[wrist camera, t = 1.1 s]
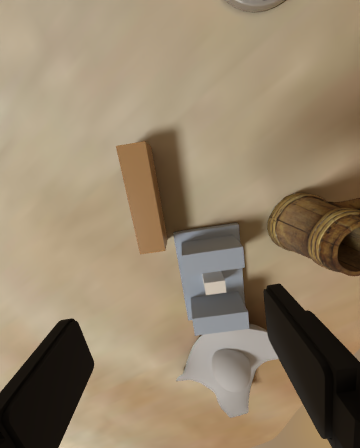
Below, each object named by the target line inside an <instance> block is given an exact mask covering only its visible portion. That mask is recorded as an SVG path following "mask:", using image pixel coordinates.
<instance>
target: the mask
mask: <svg viewBox="0 0 360 448" xmlns="http://www.w3.org/2000/svg"><path fill="white" fill-rule="evenodd" d="M274 359H279V358H278V356H277V354H276V353H275V351H274V349H273V347H272V345H271V343H270V341H269V338H268V334H267V330H265V329H263V328H262V327H260V326H257V325H254V324H249V329H244V330H236V331H228V332H220V333H212V334H204V335H202V336H200V337H199V338H198V340H197V341H196V342H195V344H194V345H193V347H192V349H191V352H190V354H189V357H188V360H187V363H186V366H185V369H184V372H183V374H182V375H180V376H179V377H178V378H177V380H176V381H183V380H193V381H196V382H199V383H201V384H203V385H204V386H206V387H208V388H209V389H211V390H212V391H213V392H214V393H215V395H216V397H217V400H218V403H219V405H220V407H221V408H222V410H224V412H225V413H226V414H227V415H228V416H229V417H230V418H231V417H235V416H240V415H243V414H246V413H248V402H249V401H248V400H249V393H250V388H251V383H252V380H253V378H254V375H255V372H256V369H257V368H258V367H259V366H260V365H261V364H262V363H264V362H266V361H269V360H274Z"/></svg>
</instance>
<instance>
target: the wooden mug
mask: <svg viewBox="0 0 360 448" xmlns="http://www.w3.org/2000/svg"><path fill="white" fill-rule="evenodd" d="M267 230H268V233H269V236H270V237H271V239H272V241H273V242H274V243H275V244H276V245H278V246H280V247H282V248H284V249H286V250H288V251H293V252H296V253H298V254H301V255H303V256H306V257H308V258H310V259H312V260H313V261H314V262H315V263H317V264H318V265H320V266H322V267H324V268H326V269H329V270H332V271H336V272H341V273H344V274H346V275H349V276H359V275H360V198H357V199H353V200H349V201H343V202H327V201H326V200H325V199H323V198H321V197H320V196H316V195H312V194H306V193H295V194H293V195H290V196H288V197H286V198H284V199H283V200H282V201H281V202H280V203H278V205H277V206H276V207H275V208H274V210H273V211H272V213H271V215H270V217H269V220H268V226H267Z"/></svg>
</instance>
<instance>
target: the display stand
mask: <svg viewBox="0 0 360 448" xmlns="http://www.w3.org/2000/svg"><path fill="white" fill-rule="evenodd" d="M173 235H174V240H175V246H176V252H177V258H178V263H179V269H180V275H181V280H182V286H183V292H184V298H185V303H186V309H187V315H188V320H193V326H194V332H195V336H196V335H204V334H212V333H220V332H228V331H236V330H244V329H249V318H248V311H247V309H246V307H245V297H244V285H243V272H242V268H245V264H244V251H243V246H242V245H241V244H240V234H239V224H237V223H231V224H224V225H218V226H211V227H204V228H198V229H191V230H184V231H178V232H174V234H173Z"/></svg>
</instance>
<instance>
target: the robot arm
mask: <svg viewBox="0 0 360 448" xmlns="http://www.w3.org/2000/svg"><path fill="white" fill-rule="evenodd" d="M225 1H226V2H227V3H229V4H230V5H232V6H233V7H235V8H238V9H240V10H243V11H249V12H259V11H265V10H268V9H271V8H273V7H276V6H277V5H279V4H280V3H282V2H283V1H285V0H225ZM264 302H265V313H266V324H267V334H268V338H269V341H270V343H271V345H272V347H273V349H274V351H275V353H276V354H277V356H278V358H279V360H280V362H281V364H282V366H283V368H284V369H285V371H286V373H287V375H288V377H289V379H290V381H291V382H292V384H293V386H294V388H295V390H296V392H297V394H298V396H299V397H300V399H301V401H302V403H303V405H304V407H305V409H306V410H307V412H308V414H309V416H310V418H311V420H312V422H313V423H314V425H315V427H316V429H317V431H318V433H319V434H320V436H321V437H322V438H323V439H328V441H329V443H330V445H331V446H332V448H360V362H359V361H358V360H357V359H356V358H355V357H354V356H353V355H352V353H351V352H350V351H349V350H348V349H347V348H346V347H345V346H344V345H343V344H342V343H341V342H340V341H339V340H338V339H337V338H336V337H335V336H334V335H333V334H332V333H331V332H330V331H329V329H328V328H327V327H326V326H325V325H324V324H323V323H322V322H321V321H320V320H319V319H318V318H317V317H316V316H315V315H314V314H313V313H312V312H311V311H308V310H307V311H305V310H304V309H303V308H302V307H301V306H300V305H299V304H298V302H297V301H296V300H295V299H294V298H293V297H292V296H291V295H290V294H289V293H288V292H287V290H286V289H285V288H284V287H283V286H282V285H281V284H274V285H268V286H267V289H264ZM93 368H94V361H93V358H92V356H91V353H90V351H89V348H88V346H87V343H86V341H85V338H84V336H83V333H82V331H81V328H80V326H79V323H78V322H77V321H75V320H74V319H66V320H61V321H59V322H58V323H57V324H56V326H55V327H54V328H53V329H52V330H51V332H50V333H49V334H48V335H47V336H46V338H45V339H44V340H43V341H42V343H41V344H40V345H39V346H38V347H37V349H36V350H35V351H34V352H33V353H32V355H31V356H30V357H29V358H28V360H27V361H26V362H25V363H24V364H23V366H22V367H21V368H20V369H19V370H18V372H17V373H16V374H15V375H14V377H13V378H12V379H11V380H10V381H9V383H8V384H7V385H6V386H5V387H4V389H3V390H2V391H1V392H0V448H58V447H59V445H60V443H61V441H62V438H63V436H64V434H65V432H66V429H67V427H68V425H69V423H70V420H71V418H72V416H73V414H74V411H75V409H76V407H77V405H78V402H79V400H80V398H81V396H82V393H83V391H84V389H85V387H86V385H87V382H88V380H89V378H90V376H91V373H92V371H93Z"/></svg>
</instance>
